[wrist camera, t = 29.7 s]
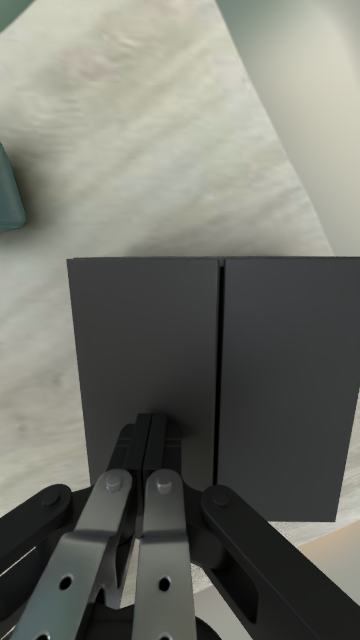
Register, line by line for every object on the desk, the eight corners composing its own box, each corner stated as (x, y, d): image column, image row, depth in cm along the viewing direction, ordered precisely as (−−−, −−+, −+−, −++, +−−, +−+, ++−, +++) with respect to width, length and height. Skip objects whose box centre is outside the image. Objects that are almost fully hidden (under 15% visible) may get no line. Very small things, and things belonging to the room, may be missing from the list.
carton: (271, 409, 29) (336, 523, 17) (131, 409, 30) (94, 520, 17) (286, 256, 25) (385, 256, 13) (123, 256, 25) (66, 257, 13)
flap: (210, 563, 15) (208, 571, 14) (98, 514, 18) (94, 519, 17) (220, 259, 11) (218, 259, 10) (71, 258, 13) (66, 259, 13)
